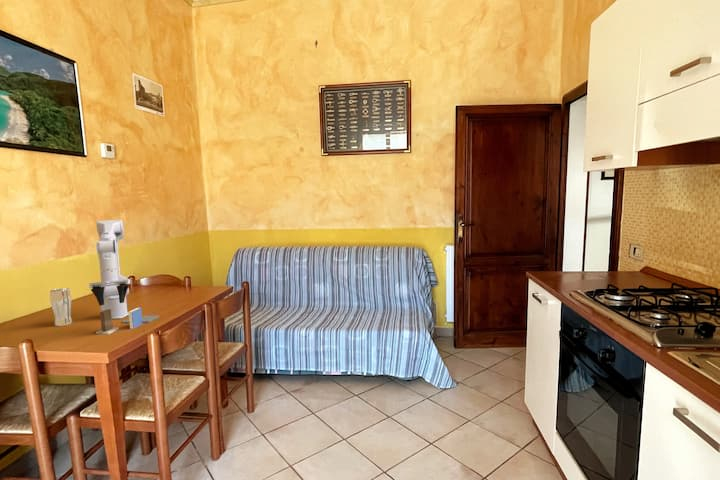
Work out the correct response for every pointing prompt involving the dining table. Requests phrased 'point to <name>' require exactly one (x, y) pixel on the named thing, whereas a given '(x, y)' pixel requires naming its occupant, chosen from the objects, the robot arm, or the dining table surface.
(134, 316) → the tile
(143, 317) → the rest mat
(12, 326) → the dining table surface
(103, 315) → the grey upright block
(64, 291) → the beer glass
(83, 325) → the dining table surface
